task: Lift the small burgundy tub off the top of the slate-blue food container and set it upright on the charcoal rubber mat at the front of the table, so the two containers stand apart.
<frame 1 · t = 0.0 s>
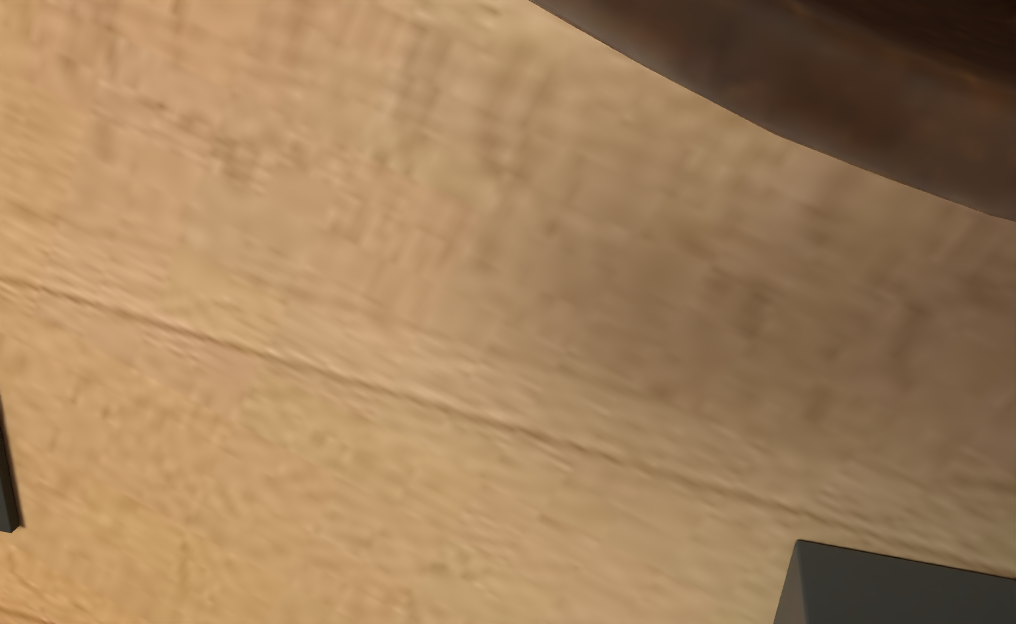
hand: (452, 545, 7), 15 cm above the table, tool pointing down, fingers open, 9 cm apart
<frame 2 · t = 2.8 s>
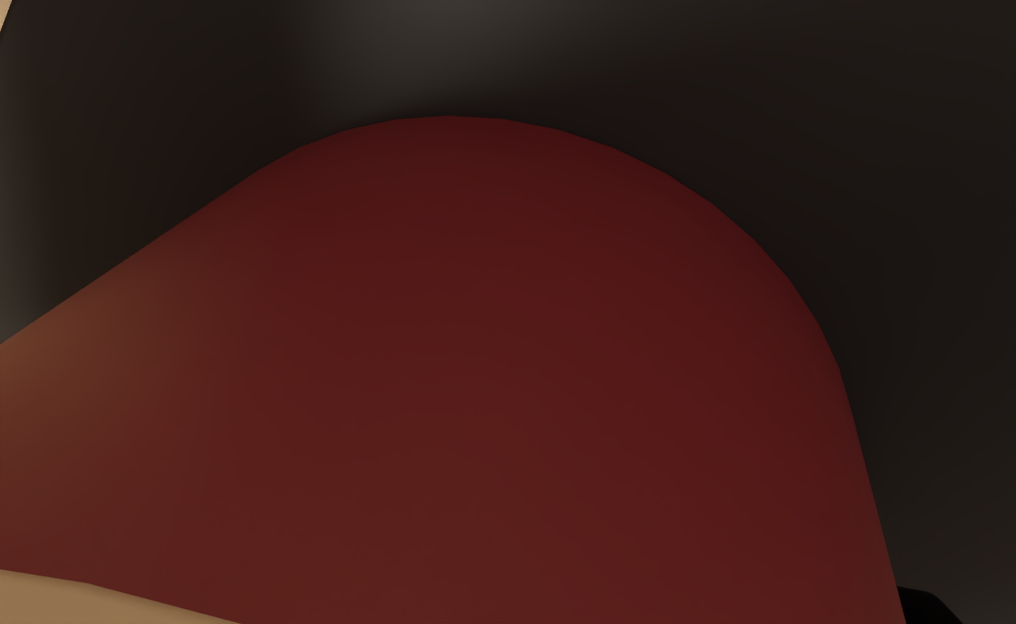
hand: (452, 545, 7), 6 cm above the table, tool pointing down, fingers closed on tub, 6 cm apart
tub: (477, 469, 8), point 5 cm above the table, touching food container, gripper
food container: (559, 260, 13), on the table, touching tub
when the fingers open (1 cm above the table, at t = 9.7 s): tub stays where it is, resting on mat.
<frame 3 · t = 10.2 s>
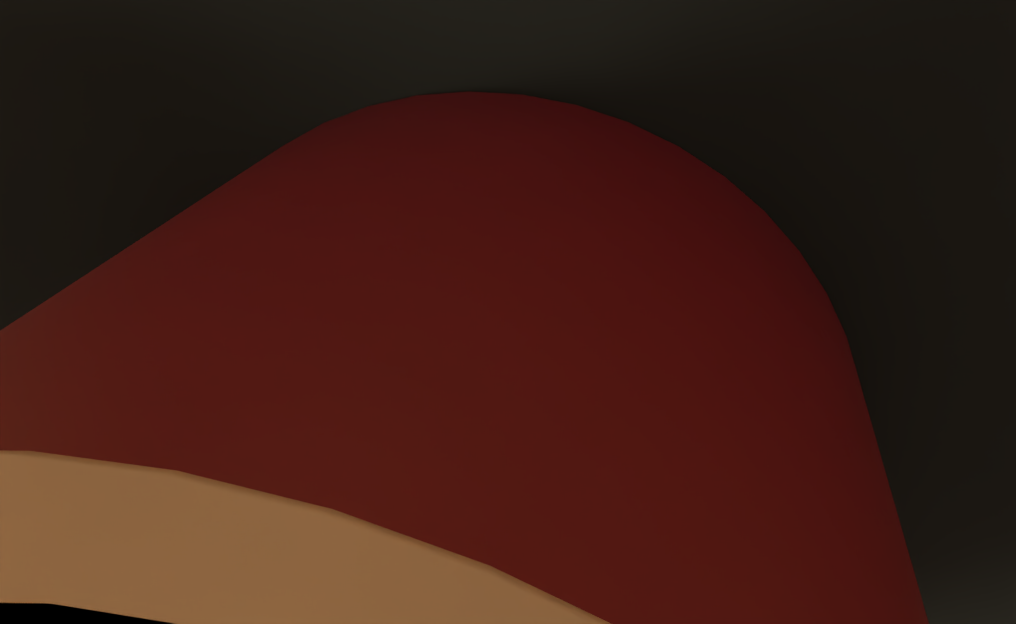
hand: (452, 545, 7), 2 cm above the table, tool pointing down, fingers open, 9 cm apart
mat: (499, 430, 9), on the table
tub: (493, 440, 9), resting on mat
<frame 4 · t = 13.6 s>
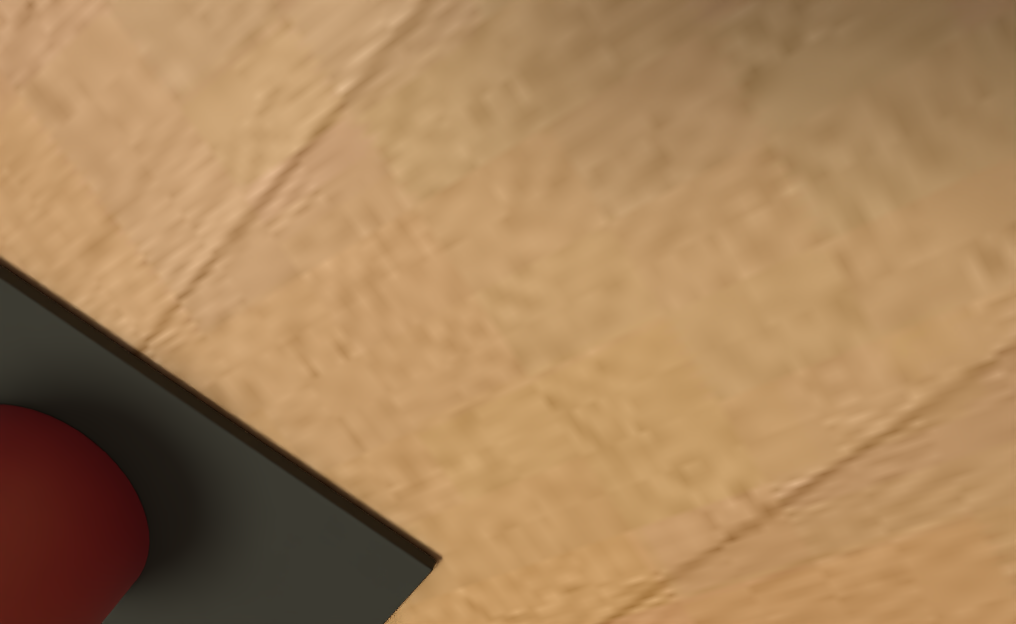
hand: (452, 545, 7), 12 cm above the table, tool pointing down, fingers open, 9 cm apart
mat: (47, 503, 25), on the table
tub: (38, 508, 25), resting on mat
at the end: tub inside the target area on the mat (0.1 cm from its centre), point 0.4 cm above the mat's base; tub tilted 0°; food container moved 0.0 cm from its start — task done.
